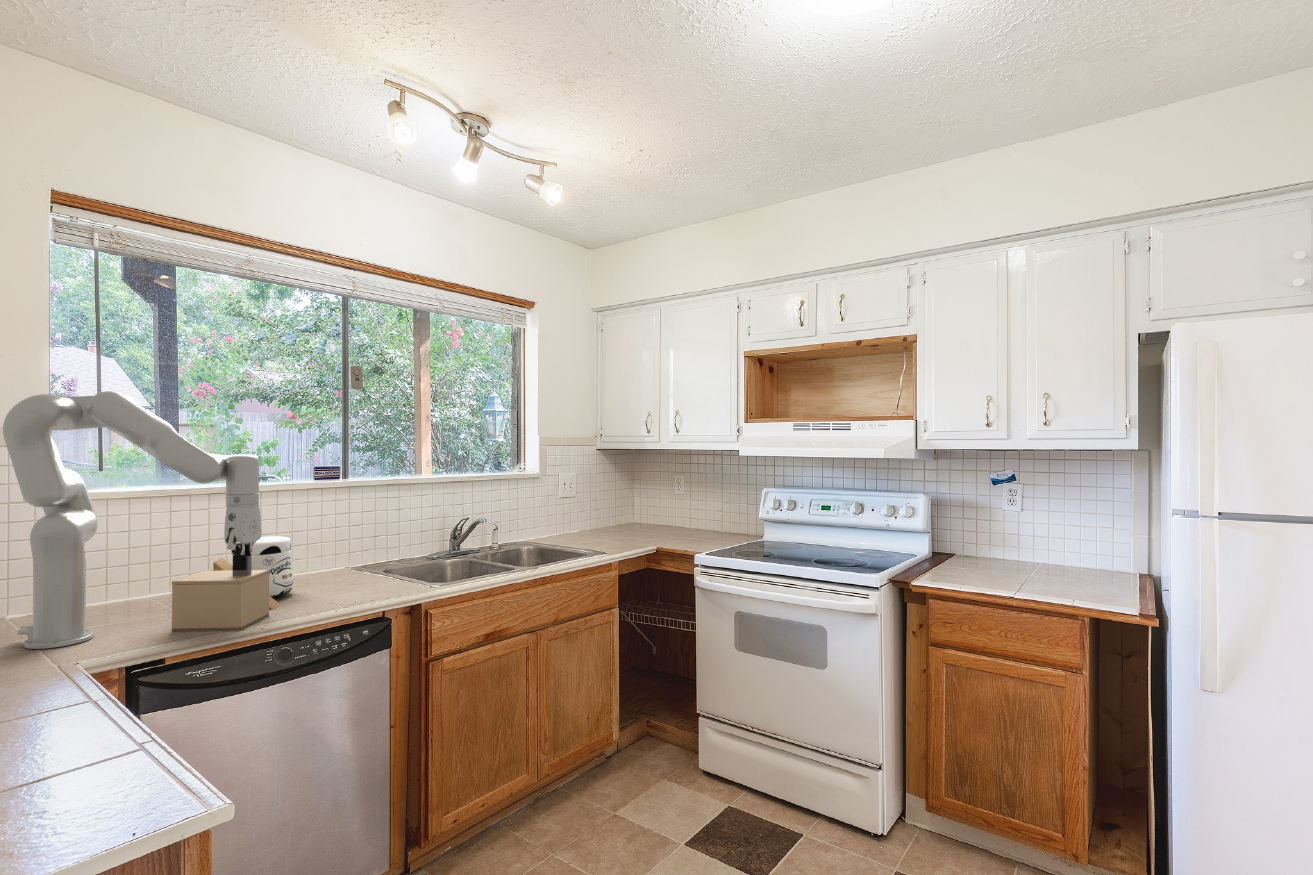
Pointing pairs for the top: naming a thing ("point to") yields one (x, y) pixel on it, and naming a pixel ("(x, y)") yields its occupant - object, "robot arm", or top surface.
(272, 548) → the milk container
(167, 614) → the top surface
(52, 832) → the top surface
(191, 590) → the carton
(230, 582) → the carton lid
